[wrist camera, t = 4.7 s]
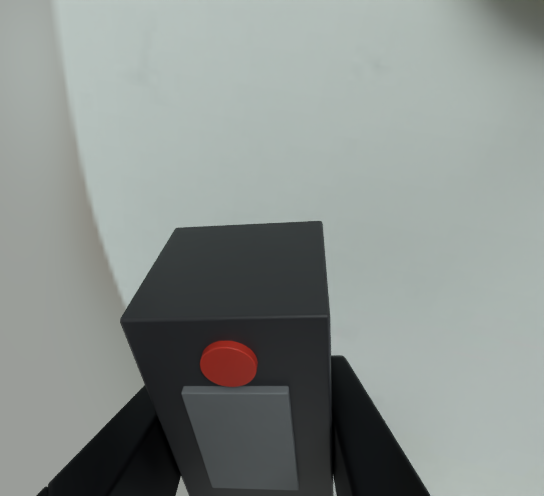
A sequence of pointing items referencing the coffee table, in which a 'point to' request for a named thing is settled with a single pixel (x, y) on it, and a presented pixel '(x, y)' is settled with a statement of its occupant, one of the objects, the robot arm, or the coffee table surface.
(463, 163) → the coffee table surface
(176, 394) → the remote
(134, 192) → the coffee table surface
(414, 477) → the robot arm
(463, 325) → the coffee table surface
